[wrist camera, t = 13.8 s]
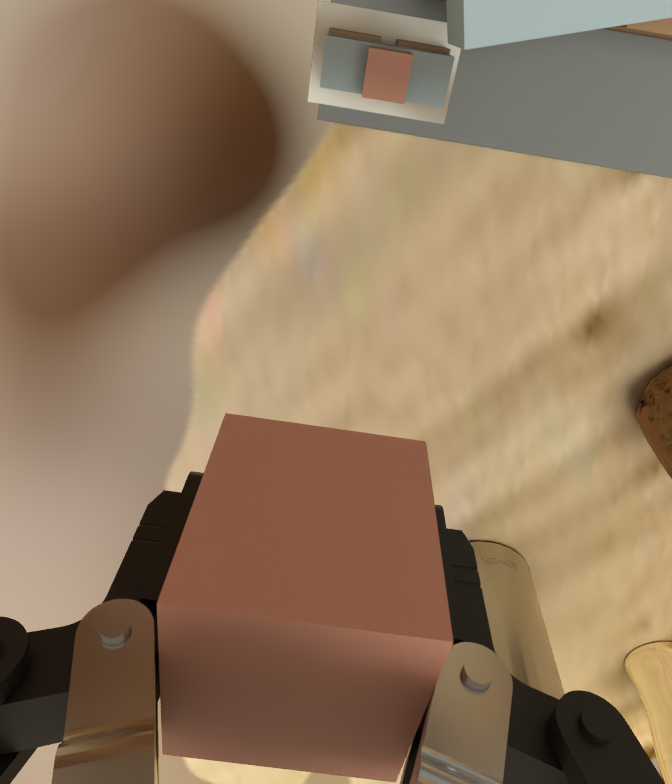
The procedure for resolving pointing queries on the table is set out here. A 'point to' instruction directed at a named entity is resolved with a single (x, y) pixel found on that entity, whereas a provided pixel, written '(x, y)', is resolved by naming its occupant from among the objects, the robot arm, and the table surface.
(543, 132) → the grey flat sheet
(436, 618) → the terracotta cube
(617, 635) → the table surface
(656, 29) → the base cube
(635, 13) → the lintel
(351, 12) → the model
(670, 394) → the block
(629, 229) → the table surface
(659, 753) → the beer glass
